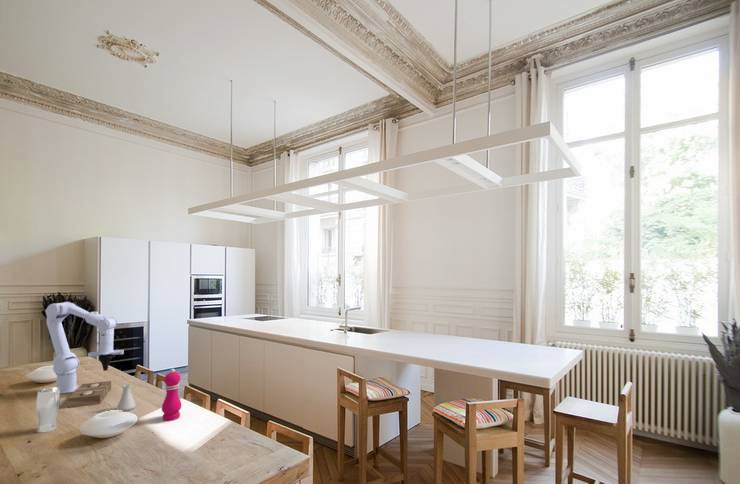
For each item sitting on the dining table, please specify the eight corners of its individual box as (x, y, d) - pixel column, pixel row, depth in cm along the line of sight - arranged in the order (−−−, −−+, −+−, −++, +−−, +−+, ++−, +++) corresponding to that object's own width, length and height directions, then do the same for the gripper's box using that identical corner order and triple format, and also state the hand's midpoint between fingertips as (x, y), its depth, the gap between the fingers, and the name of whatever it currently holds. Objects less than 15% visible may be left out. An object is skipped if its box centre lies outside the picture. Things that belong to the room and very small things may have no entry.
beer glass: (37, 435, 141) (39, 394, 142) (32, 430, 145) (34, 390, 146) (61, 428, 146) (62, 389, 147) (55, 423, 151) (57, 385, 151)
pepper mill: (172, 422, 152) (174, 371, 153) (157, 420, 154) (158, 370, 155) (185, 415, 159) (186, 366, 160) (170, 413, 161) (171, 365, 162)
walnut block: (82, 392, 187) (82, 384, 187) (111, 389, 192) (111, 381, 192) (67, 408, 167) (67, 398, 167) (99, 404, 172) (100, 395, 172)
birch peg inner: (89, 392, 186) (90, 384, 186) (100, 390, 188) (100, 382, 188) (87, 394, 182) (87, 386, 182) (98, 393, 184) (98, 385, 184)
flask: (139, 405, 170) (140, 383, 170) (127, 412, 162) (128, 388, 163) (124, 405, 170) (125, 382, 171) (112, 411, 163) (113, 388, 164)
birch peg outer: (82, 400, 175) (82, 391, 175) (94, 398, 177) (94, 390, 177) (79, 403, 171) (80, 394, 171) (91, 402, 173) (91, 393, 173)
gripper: (86, 345, 183) (85, 374, 182) (122, 342, 189) (121, 370, 188) (90, 342, 189) (89, 370, 189) (124, 340, 195) (123, 366, 194)
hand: (105, 370), depth 189 cm, fingers closed
